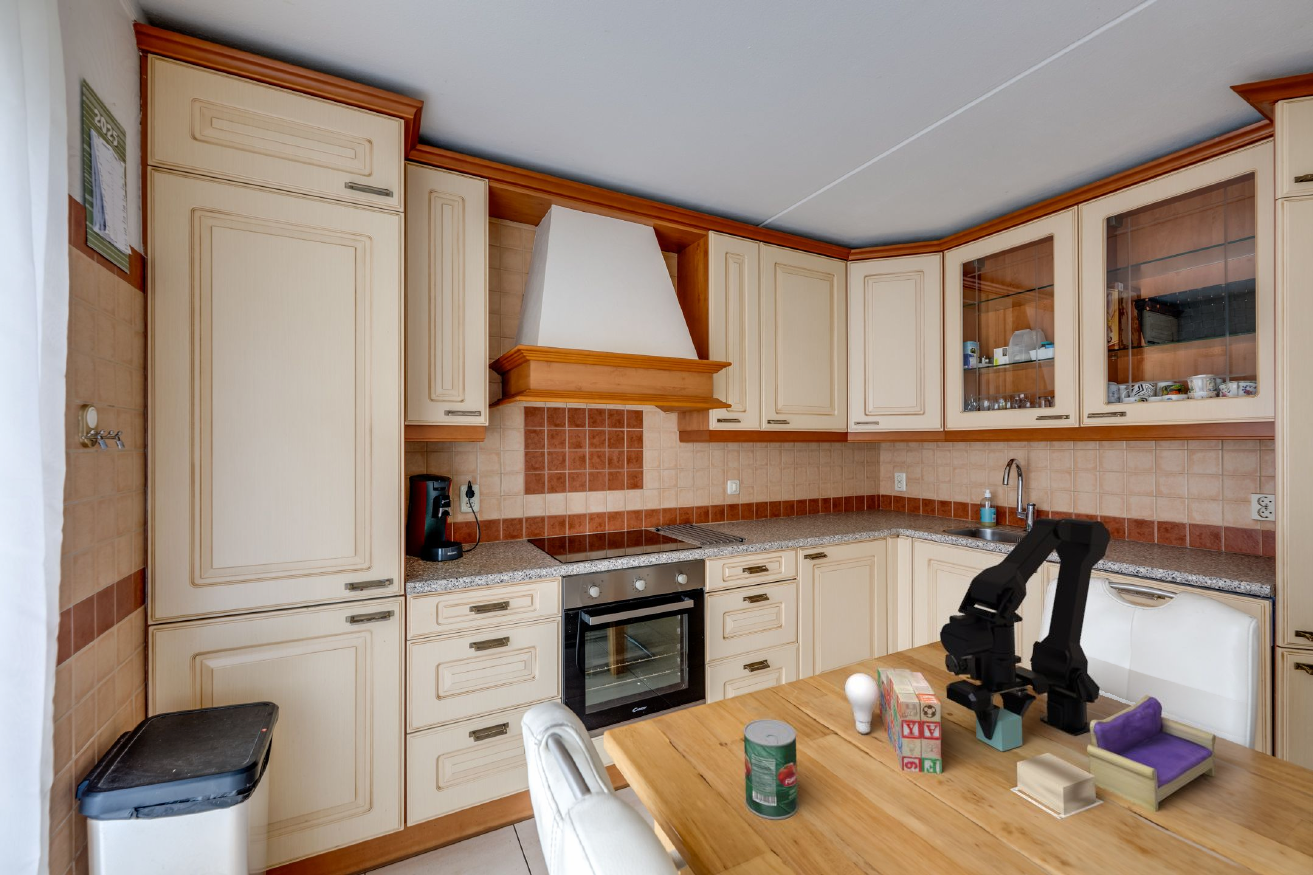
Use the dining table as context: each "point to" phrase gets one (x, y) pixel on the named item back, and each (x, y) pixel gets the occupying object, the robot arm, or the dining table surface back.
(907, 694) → the stack of blocks
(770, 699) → the dining table surface
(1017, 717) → the teal block
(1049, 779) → the block
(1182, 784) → the toy sofa
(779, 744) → the canned tomato
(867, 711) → the lightbulb
